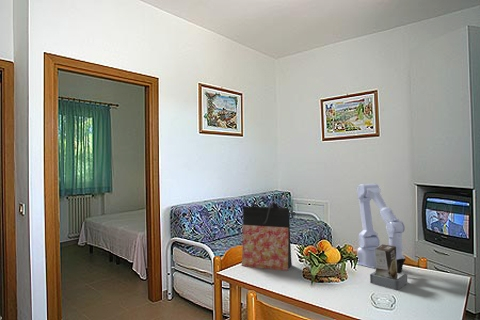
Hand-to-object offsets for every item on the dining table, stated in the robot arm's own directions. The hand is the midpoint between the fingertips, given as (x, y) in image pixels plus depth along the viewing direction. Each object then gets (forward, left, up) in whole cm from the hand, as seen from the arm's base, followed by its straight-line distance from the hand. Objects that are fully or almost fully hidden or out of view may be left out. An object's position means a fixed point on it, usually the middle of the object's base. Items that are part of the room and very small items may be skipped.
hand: (396, 274), depth 148 cm
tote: (0, -9, -1) cm, 9 cm away
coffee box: (-1, -9, -1) cm, 9 cm away
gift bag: (-55, -29, -2) cm, 63 cm away
